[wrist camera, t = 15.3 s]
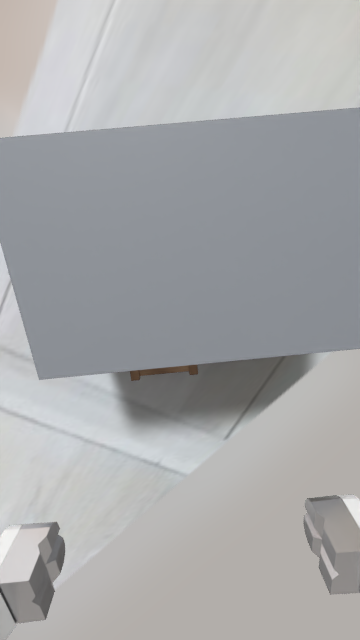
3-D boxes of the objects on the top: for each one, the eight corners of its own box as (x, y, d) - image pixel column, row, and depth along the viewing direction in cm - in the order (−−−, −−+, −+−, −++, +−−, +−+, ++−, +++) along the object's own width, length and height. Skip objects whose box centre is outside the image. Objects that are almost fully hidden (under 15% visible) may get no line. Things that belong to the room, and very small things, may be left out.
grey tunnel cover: (298, 160, 24) (420, 102, 13) (292, 295, 28) (381, 346, 17) (66, 180, 24) (-29, 140, 12) (92, 314, 28) (39, 379, 16)
